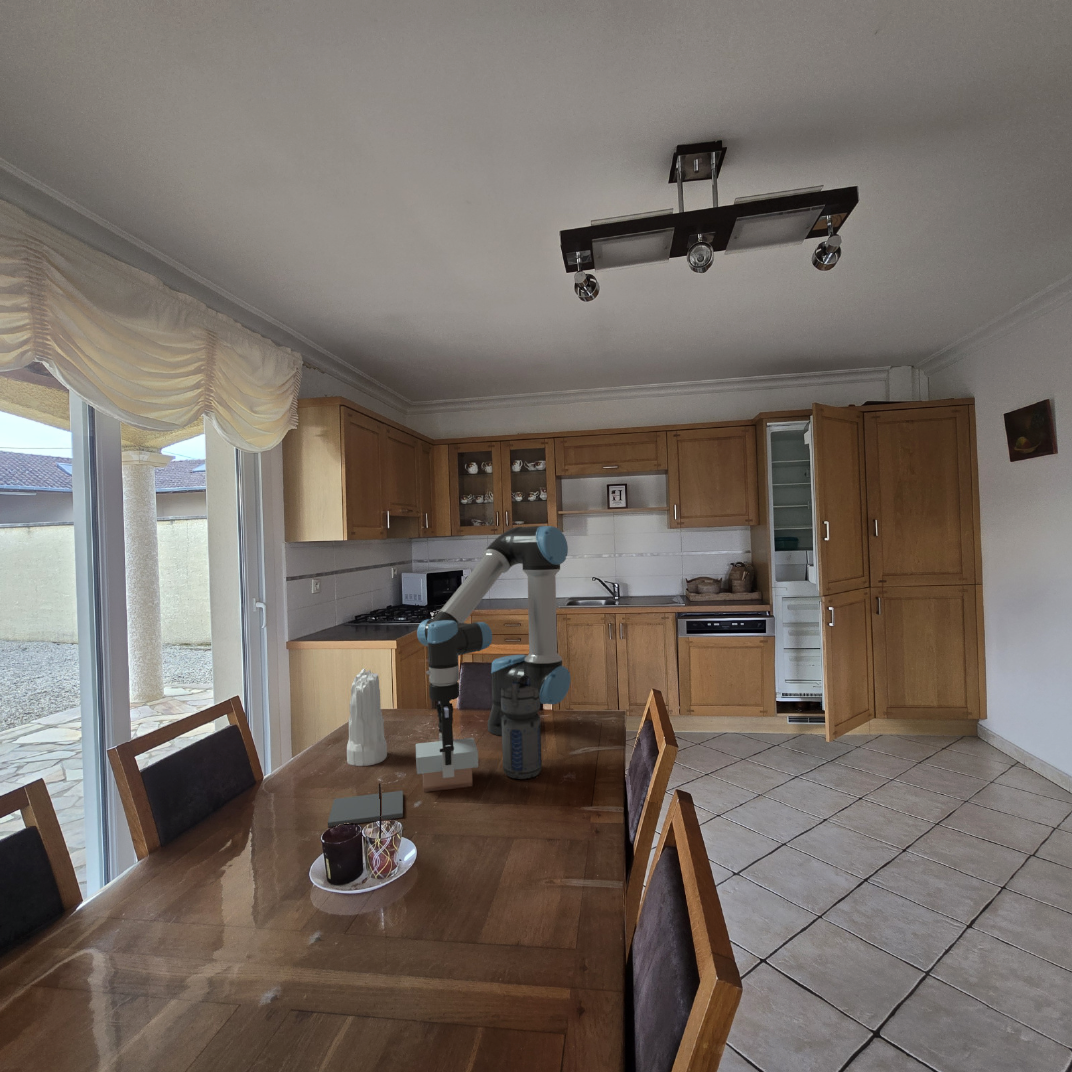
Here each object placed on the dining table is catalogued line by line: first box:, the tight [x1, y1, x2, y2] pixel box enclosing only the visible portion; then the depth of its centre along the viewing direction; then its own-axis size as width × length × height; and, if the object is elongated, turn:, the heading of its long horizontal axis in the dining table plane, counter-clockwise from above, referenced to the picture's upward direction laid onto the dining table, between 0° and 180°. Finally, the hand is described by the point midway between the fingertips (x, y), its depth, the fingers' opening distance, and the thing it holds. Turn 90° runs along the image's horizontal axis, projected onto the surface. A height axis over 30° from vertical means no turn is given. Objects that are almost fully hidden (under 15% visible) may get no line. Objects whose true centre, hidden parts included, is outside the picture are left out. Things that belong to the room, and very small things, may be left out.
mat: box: [327, 790, 404, 828], centre depth 138 cm, size 16×12×1 cm
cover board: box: [415, 737, 479, 775], centre depth 152 cm, size 15×10×4 cm, turn 102°
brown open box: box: [422, 768, 473, 793], centre depth 152 cm, size 12×8×5 cm, turn 102°
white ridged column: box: [346, 668, 388, 767], centre depth 170 cm, size 11×11×25 cm
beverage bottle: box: [501, 675, 543, 780], centre depth 157 cm, size 10×13×25 cm
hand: (446, 767), depth 152 cm, fingers open, 12 cm apart
